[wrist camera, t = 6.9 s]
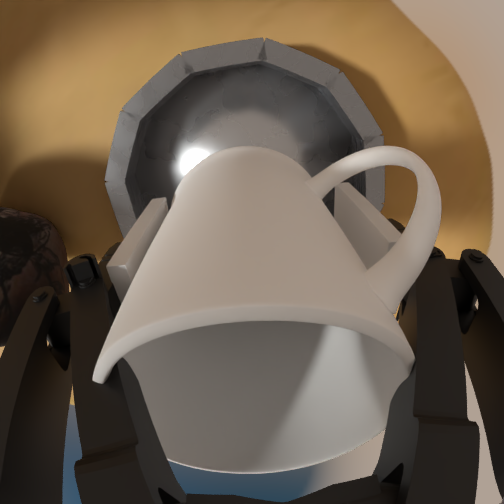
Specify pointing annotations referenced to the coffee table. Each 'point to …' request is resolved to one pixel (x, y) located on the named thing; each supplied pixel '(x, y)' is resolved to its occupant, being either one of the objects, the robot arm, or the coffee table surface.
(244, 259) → the mug
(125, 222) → the gray metal bowl
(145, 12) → the coffee table surface
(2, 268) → the decorative stone
